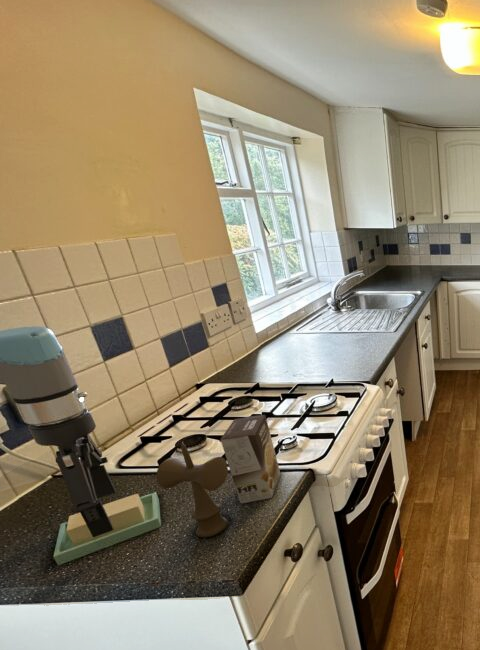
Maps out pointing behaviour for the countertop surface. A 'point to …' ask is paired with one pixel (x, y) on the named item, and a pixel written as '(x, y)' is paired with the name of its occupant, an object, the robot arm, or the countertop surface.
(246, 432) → the coffee box
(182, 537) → the countertop surface
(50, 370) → the robot arm
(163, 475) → the kendama
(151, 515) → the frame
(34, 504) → the countertop surface
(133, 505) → the tan block
